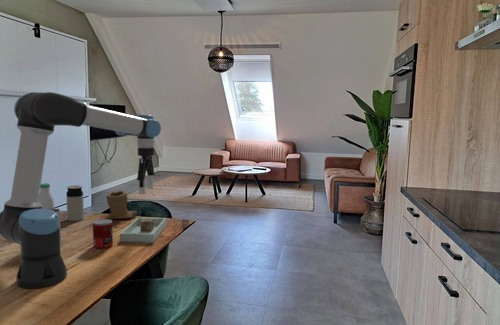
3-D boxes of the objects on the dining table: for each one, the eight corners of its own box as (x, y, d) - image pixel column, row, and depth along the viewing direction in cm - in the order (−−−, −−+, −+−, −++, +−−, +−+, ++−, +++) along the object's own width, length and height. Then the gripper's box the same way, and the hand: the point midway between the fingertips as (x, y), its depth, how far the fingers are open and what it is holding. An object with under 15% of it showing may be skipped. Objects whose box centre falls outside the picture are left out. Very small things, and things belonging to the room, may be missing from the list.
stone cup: (103, 221, 196) (103, 193, 194) (109, 215, 208) (108, 189, 206) (133, 221, 198) (132, 193, 196) (137, 215, 210) (136, 189, 208)
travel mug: (83, 220, 197) (82, 187, 194) (66, 222, 194) (65, 188, 191) (84, 216, 204) (83, 184, 202) (68, 218, 201) (66, 185, 199)
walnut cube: (140, 231, 179) (140, 221, 178) (143, 228, 184) (143, 218, 183) (150, 231, 179) (150, 221, 178) (153, 228, 184) (153, 218, 183)
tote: (153, 243, 165) (153, 234, 165) (119, 242, 165) (119, 233, 165) (166, 225, 191) (166, 218, 191) (137, 225, 191) (137, 217, 190)
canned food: (106, 250, 156) (105, 224, 154) (89, 248, 157) (88, 223, 156) (116, 243, 163) (115, 219, 162) (100, 242, 165) (99, 218, 163)
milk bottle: (57, 221, 195) (56, 183, 192) (43, 224, 188) (41, 186, 186) (49, 218, 199) (47, 182, 197) (34, 222, 193) (32, 184, 190)
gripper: (146, 149, 164) (146, 196, 167) (160, 145, 189) (160, 186, 191) (129, 149, 164) (130, 196, 167) (145, 145, 189) (145, 186, 191)
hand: (146, 191), depth 179 cm, fingers open, 13 cm apart
